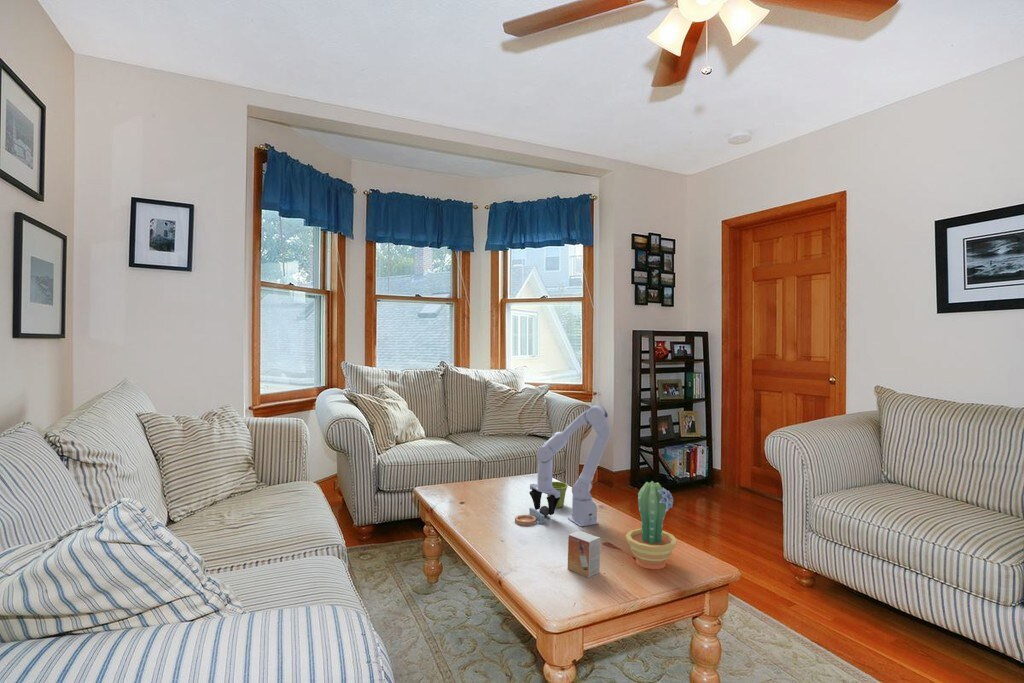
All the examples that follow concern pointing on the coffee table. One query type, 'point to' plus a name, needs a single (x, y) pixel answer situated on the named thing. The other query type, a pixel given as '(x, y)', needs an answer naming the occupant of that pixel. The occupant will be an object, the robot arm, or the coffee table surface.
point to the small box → (584, 553)
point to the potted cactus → (652, 528)
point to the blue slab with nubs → (537, 515)
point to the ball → (544, 511)
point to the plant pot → (562, 489)
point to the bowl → (525, 520)
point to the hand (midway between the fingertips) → (544, 511)
